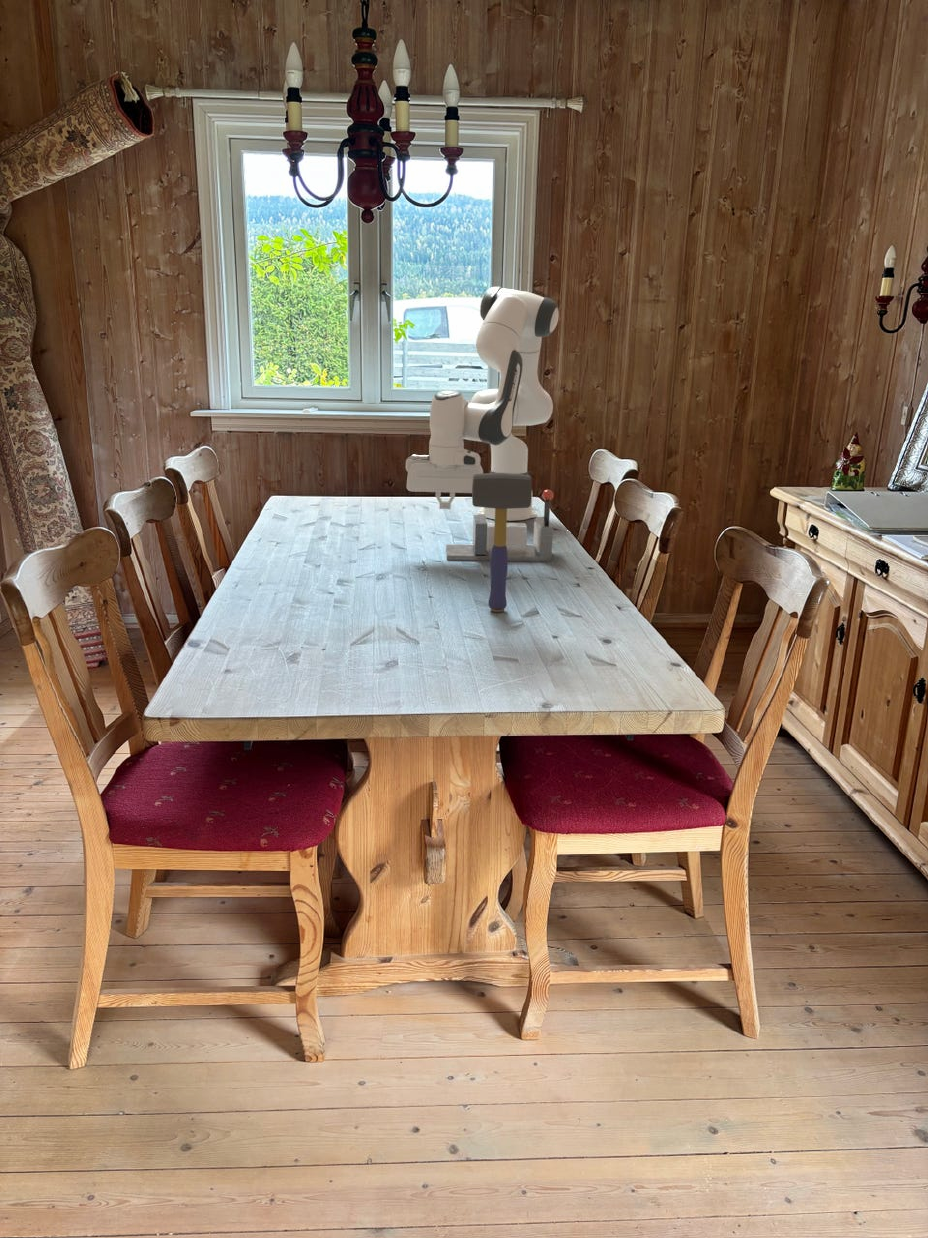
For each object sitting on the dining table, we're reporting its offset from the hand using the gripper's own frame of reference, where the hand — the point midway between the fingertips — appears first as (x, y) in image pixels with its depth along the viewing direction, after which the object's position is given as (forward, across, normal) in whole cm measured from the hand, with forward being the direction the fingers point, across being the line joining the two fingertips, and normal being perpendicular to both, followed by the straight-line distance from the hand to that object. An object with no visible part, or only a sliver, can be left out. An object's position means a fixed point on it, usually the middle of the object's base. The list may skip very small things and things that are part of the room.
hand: (444, 508), depth 256 cm
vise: (+12, +14, -1) cm, 19 cm away
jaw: (+11, +10, -1) cm, 14 cm away
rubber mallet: (+11, +12, -50) cm, 52 cm away
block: (+11, +16, -1) cm, 20 cm away
